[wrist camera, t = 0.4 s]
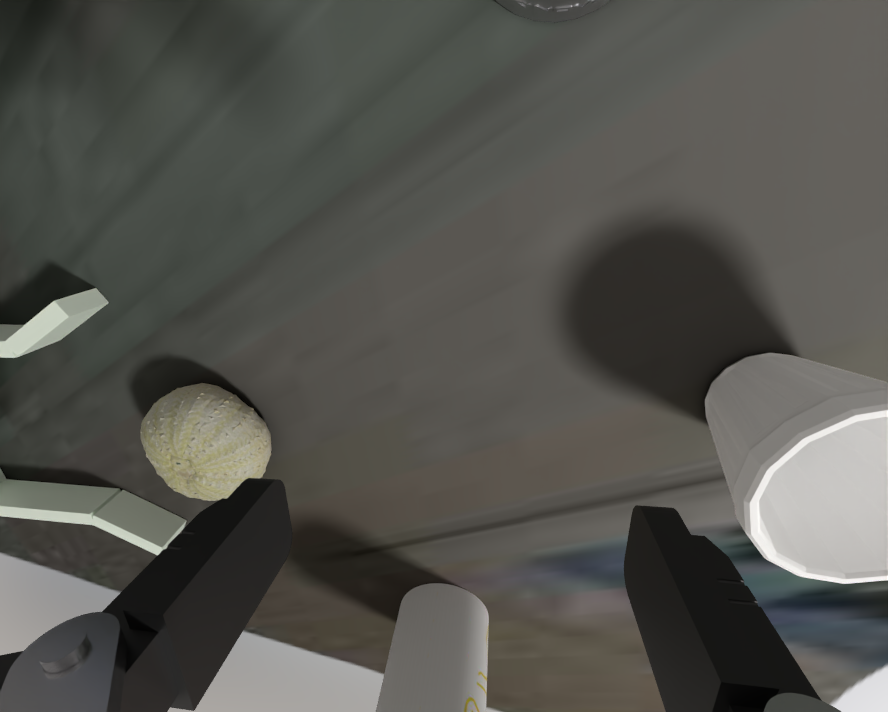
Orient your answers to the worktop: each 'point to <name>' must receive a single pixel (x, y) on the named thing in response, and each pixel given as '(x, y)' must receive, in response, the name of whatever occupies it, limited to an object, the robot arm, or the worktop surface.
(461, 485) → the worktop surface
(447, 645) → the cup
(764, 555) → the cup
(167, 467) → the sea urchin shell
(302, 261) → the worktop surface
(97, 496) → the flared u-shaped rail
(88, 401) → the worktop surface
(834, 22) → the worktop surface
